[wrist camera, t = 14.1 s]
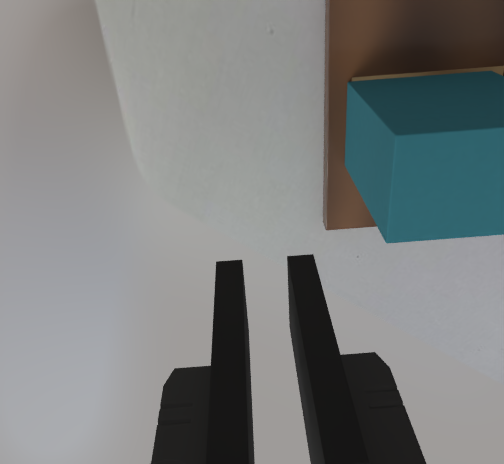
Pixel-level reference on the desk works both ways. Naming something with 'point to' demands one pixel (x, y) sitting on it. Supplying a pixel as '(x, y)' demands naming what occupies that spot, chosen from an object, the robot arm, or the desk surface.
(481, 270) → the desk surface
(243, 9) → the desk surface
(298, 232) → the desk surface
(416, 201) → the teal block
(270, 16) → the desk surface
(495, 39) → the wooden stand
